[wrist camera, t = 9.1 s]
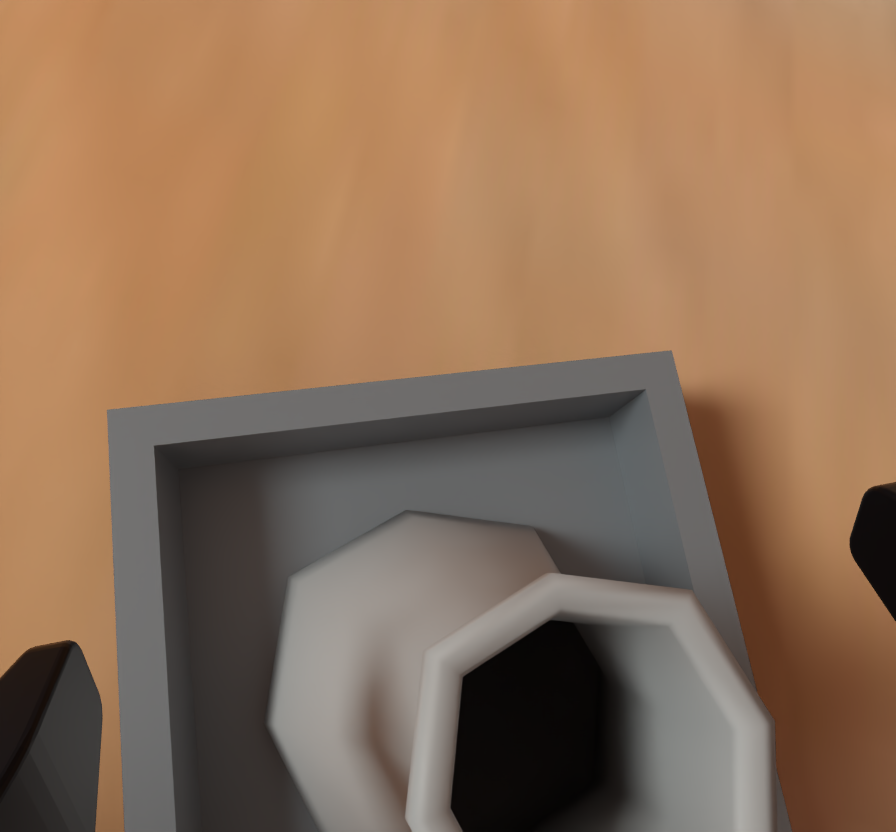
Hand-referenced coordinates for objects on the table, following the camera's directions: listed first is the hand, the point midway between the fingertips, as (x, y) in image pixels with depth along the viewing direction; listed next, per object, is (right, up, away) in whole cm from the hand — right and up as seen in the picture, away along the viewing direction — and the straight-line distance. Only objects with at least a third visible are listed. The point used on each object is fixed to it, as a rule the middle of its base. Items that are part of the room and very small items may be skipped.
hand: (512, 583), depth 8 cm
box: (-1, -4, +8) cm, 9 cm away
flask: (-1, -4, +8) cm, 8 cm away
